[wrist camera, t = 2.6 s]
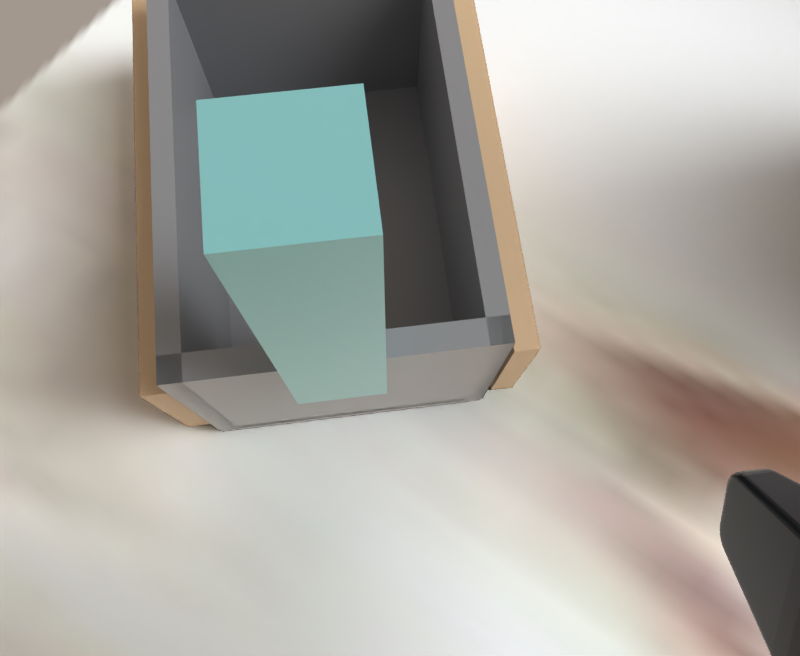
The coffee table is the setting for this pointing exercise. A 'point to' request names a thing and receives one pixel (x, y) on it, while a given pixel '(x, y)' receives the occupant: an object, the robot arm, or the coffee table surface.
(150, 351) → the tan open box
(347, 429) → the coffee table surface
